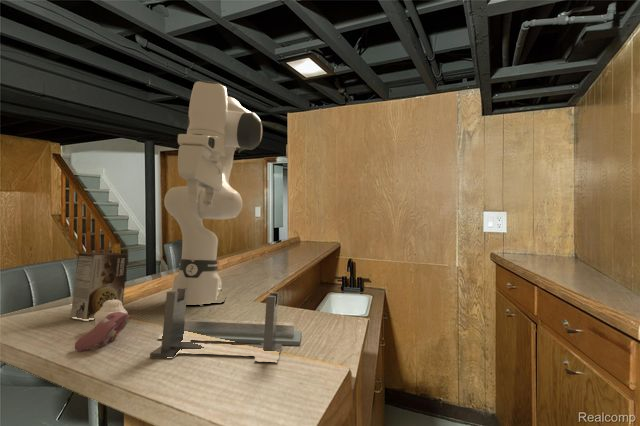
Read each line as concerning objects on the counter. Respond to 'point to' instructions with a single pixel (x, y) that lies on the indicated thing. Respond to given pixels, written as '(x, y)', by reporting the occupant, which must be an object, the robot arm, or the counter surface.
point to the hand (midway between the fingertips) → (201, 204)
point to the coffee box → (98, 282)
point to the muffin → (109, 310)
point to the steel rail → (235, 327)
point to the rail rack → (173, 344)
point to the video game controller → (103, 331)
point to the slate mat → (258, 338)
